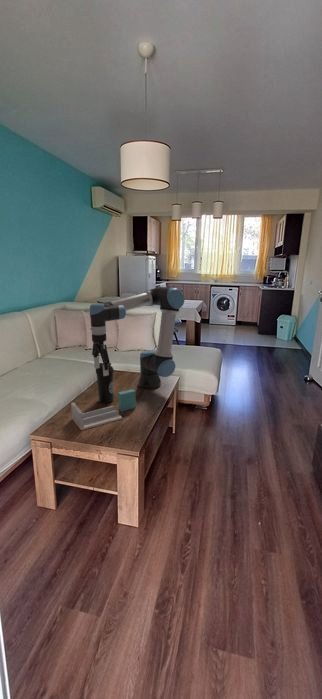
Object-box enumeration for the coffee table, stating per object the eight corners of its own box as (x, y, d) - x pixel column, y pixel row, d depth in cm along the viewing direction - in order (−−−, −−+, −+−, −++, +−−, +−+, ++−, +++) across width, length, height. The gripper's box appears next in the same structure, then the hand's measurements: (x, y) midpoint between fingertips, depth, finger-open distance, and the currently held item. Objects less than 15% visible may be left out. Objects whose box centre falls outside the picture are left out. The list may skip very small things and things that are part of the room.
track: (111, 408, 183) (110, 394, 181) (121, 418, 172) (121, 403, 170) (72, 418, 172) (71, 403, 170) (81, 430, 161) (79, 413, 158)
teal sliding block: (133, 405, 188) (132, 389, 185) (135, 407, 185) (135, 391, 182) (118, 409, 183) (117, 392, 181) (121, 411, 181) (120, 394, 178)
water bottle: (111, 404, 189) (109, 367, 182) (94, 403, 191) (92, 365, 184) (117, 397, 198) (115, 361, 192) (101, 396, 200) (99, 360, 194)
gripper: (84, 330, 180) (87, 366, 186) (100, 339, 159) (103, 380, 165) (97, 328, 184) (100, 364, 189) (114, 337, 163) (116, 377, 169)
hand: (101, 371), depth 177 cm, fingers open, 13 cm apart
